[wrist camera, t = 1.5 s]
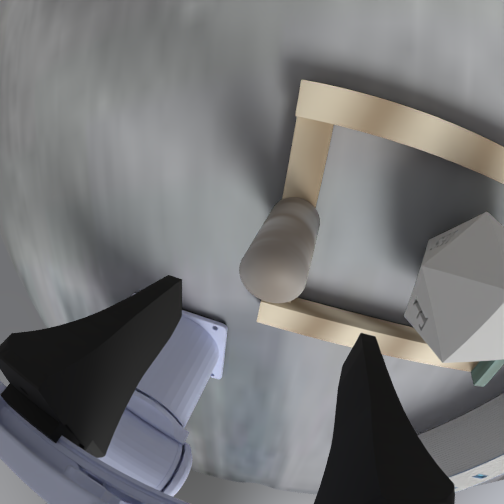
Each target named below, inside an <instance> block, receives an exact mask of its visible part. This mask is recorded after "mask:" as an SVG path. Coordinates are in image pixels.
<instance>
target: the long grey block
mask: <svg viewBox="0 0 504 504" xmlns="http://www.w3.org/2000/svg"><path fill="white" fill-rule="evenodd" d="M418 437H419V439H420V440H421V442H422V443H423V445H424V446H425V448H426V449H427V451H428V452H429V454H430V455H431V457H432V458H433V459H434V460H435V462H436V463H437V464H438V466H439V467H440V468H441V469H442V471H443V472H444V473H445V474H446V475H447V476H448V477H449V479H450V480H451V481H452V482H453V483H454V487H455V493H456V492H459V491H462V490H464V489H467V488H470V487H473V486H475V485H478V484H480V483H483V482H485V481H488V480H490V479H493V478H495V477H497V476H499V475H502V474H504V393H503V394H501V395H499V396H498V397H496V398H494V399H492V400H491V401H489V402H487V403H485V404H483V405H482V406H480V407H478V408H476V409H474V410H472V411H470V412H468V413H466V414H464V415H462V416H460V417H458V418H456V419H454V420H452V421H450V422H447V423H445V424H443V425H441V426H438V427H436V428H434V429H431V430H429V431H427V432H424V433H422V434H419V435H418Z"/></svg>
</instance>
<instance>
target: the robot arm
mask: <svg viewBox="0 0 504 504" xmlns="http://www.w3.org/2000/svg"><path fill="white" fill-rule="evenodd" d="M215 326H216V327H215ZM227 330H228V328H227V326H226V325H225V324H223V323H220V322H217V321H214V320H211V319H208V318H205V317H202V316H199V315H196V314H193V313H190V312H187V311H184V310H182V279H179V278H176V277H173V276H170V275H168V276H166V277H164V278H162V279H161V280H159V281H157V282H155V283H153V284H152V285H150V286H148V287H146V288H145V289H143V290H141V291H139V292H138V293H133V295H132V296H130V297H129V298H127V299H125V300H123V301H121V302H119V303H117V304H115V305H113V306H111V307H109V308H107V309H105V310H102V311H100V312H98V313H95V314H93V315H90V316H88V317H85V318H82V319H79V320H76V321H73V322H70V323H66V324H63V325H60V326H56V327H51V328H47V329H42V330H36V331H29V332H21V333H12V334H11V335H10V336H9V337H8V338H7V339H6V340H5V341H4V342H3V343H2V344H1V345H0V369H1V371H2V372H3V374H4V375H5V377H6V378H7V380H8V381H9V382H10V384H9V385H8V386H7V387H6V386H5V385H4V384H3V383H2V382H1V381H0V459H1V460H2V461H3V462H4V463H5V464H6V465H7V466H8V467H9V468H10V469H11V470H12V471H13V472H14V473H15V474H16V475H17V476H18V477H19V478H20V479H21V480H22V481H23V482H24V483H26V484H27V485H28V486H29V487H30V488H31V489H32V490H33V491H34V492H36V493H37V494H38V495H39V496H40V497H41V498H42V499H44V500H45V501H46V502H47V503H46V504H190V503H187V502H185V501H182V500H180V499H177V498H175V497H173V496H174V495H175V494H176V493H177V492H178V490H179V489H180V488H181V487H182V485H183V484H184V482H185V480H186V478H187V476H188V474H189V472H190V469H191V465H192V453H191V447H190V445H189V444H188V443H186V442H185V441H186V439H187V437H188V435H189V432H188V431H187V430H185V429H184V427H185V425H186V423H187V421H188V419H189V418H190V416H191V414H192V412H193V410H194V408H195V406H196V404H197V402H198V400H199V398H200V396H201V394H202V392H203V390H204V388H205V386H206V384H207V382H208V380H209V378H210V377H213V378H216V379H221V377H222V375H223V366H224V357H225V348H226V339H227ZM454 499H455V487H454V483H453V482H452V481H451V480H450V479H449V477H448V476H447V475H446V474H445V473H444V472H443V471H442V469H441V468H440V467H439V466H438V464H437V463H436V462H435V460H434V459H433V458H432V457H431V455H430V454H429V452H428V451H427V449H426V448H425V446H424V445H423V443H422V442H421V440H420V439H419V437H418V435H417V434H416V432H415V430H414V429H413V427H412V425H411V423H410V421H409V419H408V418H407V416H406V414H405V412H404V410H403V407H402V405H401V403H400V401H399V398H398V396H397V394H396V391H395V389H394V386H393V384H392V381H391V378H390V376H389V373H388V371H387V368H386V365H385V362H384V359H383V356H382V353H381V351H380V348H379V345H378V342H377V339H376V337H375V336H372V335H368V334H364V333H360V335H359V337H358V339H357V341H356V342H355V344H354V346H353V348H352V350H351V352H350V353H349V355H348V357H347V359H346V361H345V362H344V364H343V366H342V371H341V376H340V381H339V386H338V394H337V404H336V414H335V423H334V432H333V439H332V445H331V449H330V453H329V457H328V461H327V465H326V468H325V472H324V475H323V478H322V481H321V485H320V488H319V491H318V493H317V496H316V499H315V502H314V504H454Z"/></svg>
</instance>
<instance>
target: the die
mask: <svg viewBox="0 0 504 504" xmlns="http://www.w3.org/2000/svg"><path fill="white" fill-rule="evenodd" d="M404 317H405V318H406V319H407V320H408V322H409V323H410V324H411V325H412V326H413V327H414V329H415V330H416V331H417V332H418V333H419V335H420V336H421V337H422V338H423V339H424V341H425V342H426V343H427V344H428V346H429V347H430V348H431V349H432V351H433V352H434V353H435V354H436V356H437V357H438V358H439V359H440V361H441V362H442V363H455V362H475V361H490V360H502V359H504V227H503V226H502V225H501V224H500V223H499V222H498V221H497V220H496V219H495V218H494V217H493V216H492V215H491V214H489V213H488V212H485V213H483V214H481V215H479V216H477V217H475V218H473V219H471V220H469V221H467V222H465V223H463V224H461V225H459V226H456V227H454V228H452V229H450V230H448V231H446V232H444V233H442V234H440V235H438V236H436V237H433V238H431V239H429V240H428V244H427V247H426V251H425V254H424V257H423V261H422V264H421V267H420V270H419V274H418V277H417V280H416V283H415V286H414V289H413V292H412V295H411V297H410V300H409V303H408V306H407V308H406V311H405V314H404Z"/></svg>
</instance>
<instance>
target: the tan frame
mask: <svg viewBox="0 0 504 504" xmlns="http://www.w3.org/2000/svg"><path fill="white" fill-rule="evenodd" d="M295 116H297V119H296V125H295V131H294V136H293V142H292V148H291V153H290V159H289V164H288V170H287V175H286V181H285V186H284V192H283V197H282V200H281V201H279V202H278V203H277V204H276V205H275V206H274V208H273V209H272V211H271V212H270V214H269V216H268V217H267V219H266V221H265V222H264V224H263V226H262V227H261V229H260V230H259V232H258V234H257V235H256V237H255V239H254V240H253V242H252V244H251V245H250V247H249V249H248V250H247V252H246V253H245V255H244V257H243V258H242V260H241V263H240V267H239V272H240V278H241V280H242V282H243V284H244V286H245V287H246V289H247V290H248V291H249V292H250V293H251V294H253V295H254V296H255V297H257V298H259V299H261V303H260V308H259V313H258V318H257V322H259V323H263V324H266V325H269V326H273V327H276V328H280V329H284V330H287V331H291V332H294V333H298V334H302V335H305V336H309V337H313V338H317V339H320V340H324V341H328V342H332V343H336V344H340V345H344V346H348V347H352V348H353V346H354V344H355V342H356V341H357V339H358V337H359V335H360V333H364V334H368V335H372V336H375V337H376V339H377V342H378V345H379V348H380V351H381V353H382V355H387V356H391V357H396V358H401V359H405V360H410V361H415V362H420V363H425V364H430V365H435V366H441V367H446V368H452V369H457V370H463V371H469V372H471V375H472V379H473V384H474V386H481V387H484V386H485V385H486V384H487V383H488V382H489V381H490V380H491V379H492V377H493V376H494V375H495V374H496V373H497V372H498V370H499V369H500V368H501V367H502V366H503V364H504V359H502V360H490V361H475V362H455V363H442V362H441V361H440V359H439V358H438V357H437V356H436V354H435V353H434V352H433V351H432V349H431V348H430V347H429V346H428V344H427V343H426V342H425V341H424V339H423V338H422V337H421V336H420V335H419V333H418V332H417V331H416V330H415V329H414V328H413V327H409V326H405V325H401V324H397V323H393V322H389V321H385V320H381V319H377V318H373V317H369V316H365V315H361V314H357V313H353V312H349V311H345V310H342V309H338V308H334V307H330V306H326V305H323V304H319V303H315V302H311V301H308V300H304V299H300V298H297V297H298V296H299V295H300V294H301V293H302V292H303V290H304V288H305V285H306V282H307V278H308V273H309V269H310V265H311V261H312V257H313V252H314V248H315V244H316V239H317V235H318V230H319V226H320V218H319V214H318V212H317V210H316V203H317V199H318V195H319V191H320V186H321V182H322V177H323V173H324V168H325V164H326V159H327V155H328V150H329V145H330V140H331V136H332V131H333V126H334V125H338V126H342V127H346V128H350V129H354V130H358V131H361V132H365V133H369V134H372V135H375V136H379V137H382V138H386V139H389V140H392V141H395V142H398V143H401V144H404V145H407V146H410V147H413V148H416V149H419V150H422V151H425V152H428V153H430V154H433V155H436V156H439V157H441V158H444V159H446V160H449V161H452V162H454V163H457V164H459V165H461V166H464V167H466V168H469V169H471V170H473V171H476V172H478V173H480V174H483V175H485V176H487V177H489V178H491V179H494V180H496V181H498V182H500V183H502V184H504V147H503V146H501V145H499V144H497V143H495V142H493V141H491V140H489V139H486V138H484V137H482V136H480V135H478V134H476V133H474V132H471V131H469V130H467V129H465V128H462V127H460V126H458V125H455V124H453V123H450V122H448V121H445V120H443V119H440V118H438V117H435V116H433V115H430V114H427V113H424V112H422V111H419V110H416V109H413V108H410V107H407V106H404V105H401V104H398V103H395V102H392V101H388V100H385V99H382V98H378V97H375V96H371V95H368V94H364V93H360V92H356V91H353V90H349V89H344V88H340V87H336V86H331V85H327V84H322V83H317V82H312V81H307V80H302V79H301V85H300V91H299V97H298V103H297V108H296V114H295Z"/></svg>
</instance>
